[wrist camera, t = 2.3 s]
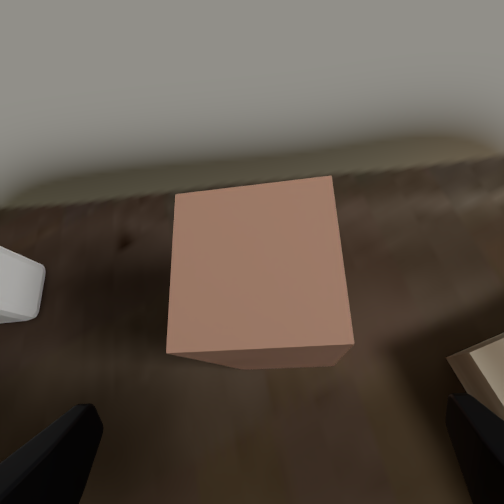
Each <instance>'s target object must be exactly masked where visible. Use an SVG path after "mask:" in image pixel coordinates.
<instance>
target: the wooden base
mask: <svg viewBox="0 0 504 504" xmlns="http://www.w3.org/2000/svg"><path fill="white" fill-rule="evenodd" d="M446 359H447V361H448V362H449V364H450V366H451V367H452V369H453V371H454V372H455V374H456V375H457V377H458V379H459V380H460V382H461V384H462V385H463V387H464V389H465V390H466V392H467V393H468V394H470V395H472V396H473V397H474V398H476V399H477V400H478V401H479V402H481V403H482V404H483V405H485V406H486V407H487V408H488V409H490V410H491V411H492V412H494V413H495V414H496V415H497V416H499V417H500V418H501V419H503V420H504V333H502V334H499V335H497V336H495V337H492V338H490V339H488V340H485V341H483V342H481V343H478V344H476V345H474V346H471V347H469V348H467V349H465V350H462V351H460V352H458V353H455V354H453V355H451V356H448V357H446Z"/></svg>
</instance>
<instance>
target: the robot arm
mask: <svg viewBox="0 0 504 504" xmlns="http://www.w3.org/2000/svg"><path fill="white" fill-rule="evenodd" d="M446 426H447V430H448V433H449V436H450V439H451V442H452V444H453V447H454V450H455V453H456V456H457V459H458V462H459V465H460V468H461V471H462V473H463V476H464V479H465V482H466V485H467V488H468V491H469V493H470V496H471V499H472V502H473V504H504V420H503V419H501V418H500V417H499V416H497V415H496V414H495V413H494V412H492V411H491V410H490V409H488V408H487V407H486V406H485V405H483V404H482V403H481V402H479V401H478V400H477V399H476V398H474V397H473V396H472V395H470V394H468V393H452V394H450V395H449V396H448V401H447V410H446ZM102 434H103V424H102V421H101V419H100V417H99V415H98V412H97V410H96V408H95V406H94V405H93V404H78V405H76V406H74V407H73V408H72V409H70V410H69V411H68V412H66V413H65V414H64V415H62V416H61V417H60V418H59V419H57V420H56V421H55V422H53V423H52V424H51V425H49V426H48V427H47V428H45V429H44V430H43V431H42V432H40V433H39V434H38V435H36V436H35V437H34V438H32V439H31V440H30V441H29V442H27V443H26V444H25V445H23V446H22V447H21V448H19V449H18V450H17V451H16V452H14V453H13V454H12V455H10V456H9V457H8V458H6V459H5V460H4V461H2V462H1V463H0V504H79V501H80V499H81V496H82V494H83V491H84V488H85V486H86V483H87V480H88V477H89V473H90V470H91V467H92V464H93V461H94V458H95V455H96V452H97V449H98V446H99V443H100V440H101V437H102Z"/></svg>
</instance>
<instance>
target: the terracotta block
mask: <svg viewBox="0 0 504 504" xmlns="http://www.w3.org/2000/svg"><path fill="white" fill-rule="evenodd" d="M353 345H354V337H353V330H352V323H351V315H350V308H349V301H348V293H347V286H346V279H345V271H344V264H343V256H342V249H341V242H340V234H339V227H338V220H337V212H336V205H335V198H334V190H333V183H332V176H324V177H316V178H307V179H299V180H291V181H282V182H274V183H266V184H258V185H249V186H241V187H233V188H224V189H216V190H208V191H199V192H191V193H183V194H175V210H174V227H173V244H172V261H171V278H170V295H169V312H168V328H167V345H166V353H167V354H171V355H176V356H181V357H186V358H190V359H195V360H200V361H204V362H209V363H214V364H218V365H223V366H228V367H232V368H237V369H242V370H252V369H277V368H302V367H327V366H334V365H335V364H336V363H337V362H338V361H339V360H340V359H341V358H342V356H343V355H344V354H345V353H346V352H347V351H348V350H349V349H350V348H351V347H352V346H353Z"/></svg>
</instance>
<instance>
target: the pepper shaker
mask: <svg viewBox="0 0 504 504" xmlns="http://www.w3.org/2000/svg"><path fill="white" fill-rule="evenodd" d="M45 274H46V271H45V267H44V266H43V265H42V264H40V263H37V262H35V261H33V260H30V259H28V258H26V257H24V256H21V255H19V254H17V253H15V252H12V251H10V250H8V249H6V248H3V247H1V246H0V323H10V322H20V321H28V320H31V319H34V318H36V316H37V315H38V313H39V309H40V303H41V297H42V291H43V285H44V280H45Z"/></svg>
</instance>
